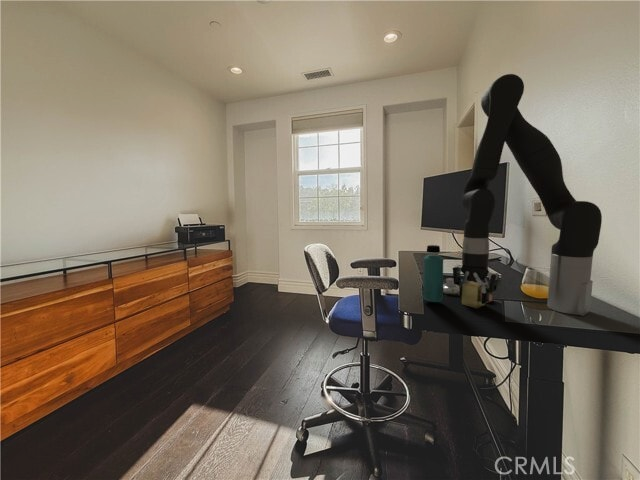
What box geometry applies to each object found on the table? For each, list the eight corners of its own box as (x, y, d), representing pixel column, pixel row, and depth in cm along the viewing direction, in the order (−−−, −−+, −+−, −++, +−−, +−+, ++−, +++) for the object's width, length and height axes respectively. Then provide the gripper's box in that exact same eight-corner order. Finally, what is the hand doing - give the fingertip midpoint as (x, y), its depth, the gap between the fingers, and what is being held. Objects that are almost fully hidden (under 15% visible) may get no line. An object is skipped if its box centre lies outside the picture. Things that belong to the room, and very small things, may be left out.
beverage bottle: (446, 306, 89) (448, 246, 87) (426, 306, 89) (427, 247, 87) (437, 299, 96) (439, 243, 93) (419, 300, 96) (420, 244, 93)
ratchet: (434, 291, 105) (435, 278, 104) (446, 287, 109) (447, 275, 108) (483, 304, 90) (484, 290, 89) (495, 299, 94) (495, 285, 93)
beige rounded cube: (484, 305, 89) (485, 284, 88) (476, 308, 86) (477, 287, 86) (469, 300, 93) (470, 281, 92) (461, 304, 91) (462, 283, 90)
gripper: (505, 252, 84) (502, 304, 86) (460, 247, 96) (458, 292, 98) (493, 255, 80) (490, 309, 82) (447, 249, 92) (446, 297, 94)
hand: (473, 300), depth 90 cm, fingers open, 6 cm apart
